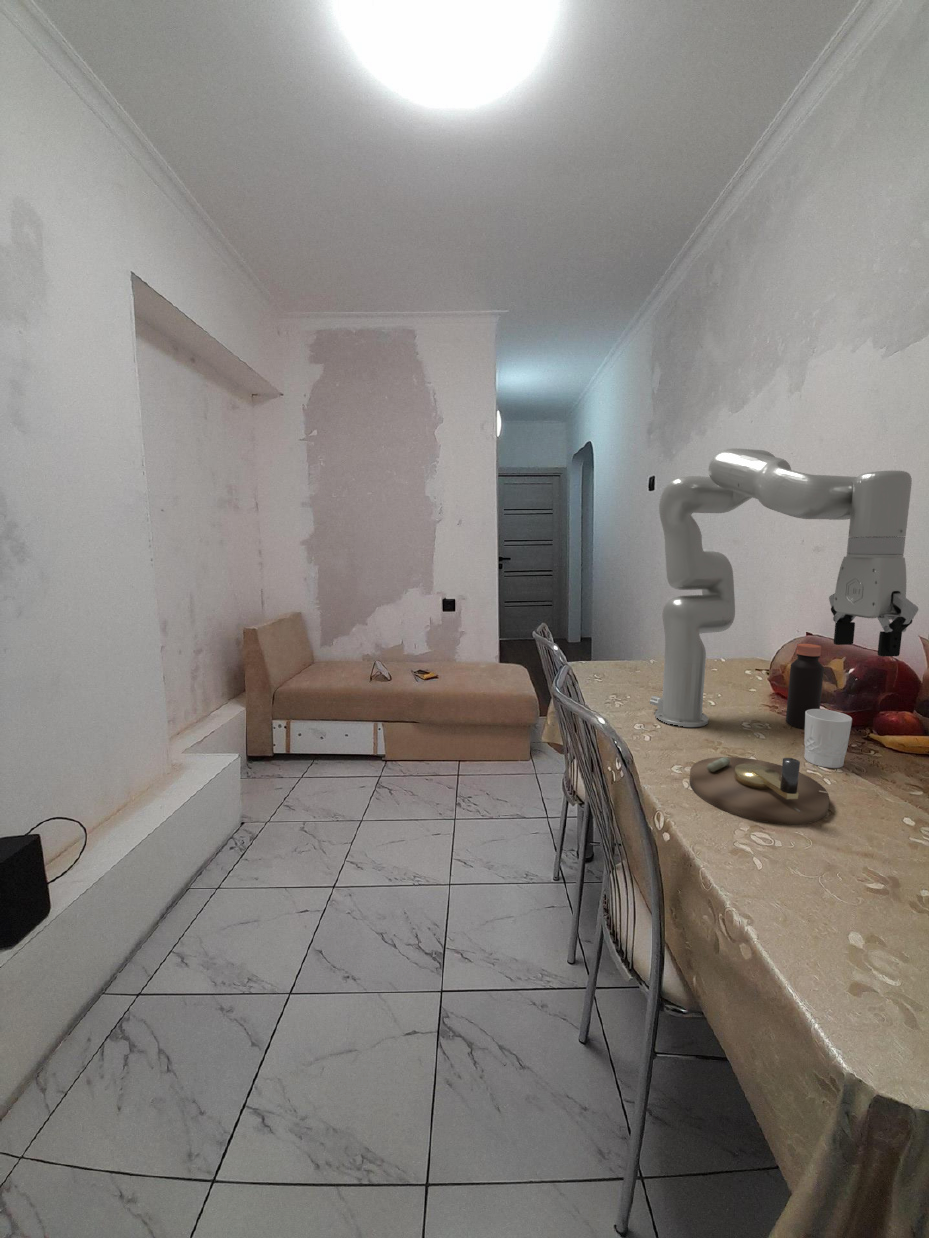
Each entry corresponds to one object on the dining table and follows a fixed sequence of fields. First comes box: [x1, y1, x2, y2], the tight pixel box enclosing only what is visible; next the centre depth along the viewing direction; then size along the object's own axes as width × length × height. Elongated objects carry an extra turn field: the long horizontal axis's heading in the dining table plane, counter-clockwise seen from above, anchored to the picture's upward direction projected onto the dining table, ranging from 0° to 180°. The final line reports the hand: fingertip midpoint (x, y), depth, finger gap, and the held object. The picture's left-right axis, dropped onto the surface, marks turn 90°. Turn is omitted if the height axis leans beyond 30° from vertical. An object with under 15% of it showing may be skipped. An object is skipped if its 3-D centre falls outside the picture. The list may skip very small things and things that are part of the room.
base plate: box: [689, 756, 830, 825], centre depth 96 cm, size 22×22×4 cm
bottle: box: [785, 643, 825, 730], centre depth 129 cm, size 7×7×20 cm
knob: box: [734, 757, 801, 799], centre depth 92 cm, size 13×7×7 cm, turn 6°
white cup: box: [803, 708, 853, 769], centre depth 108 cm, size 8×8×10 cm
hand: (864, 649), depth 90 cm, fingers open, 9 cm apart
